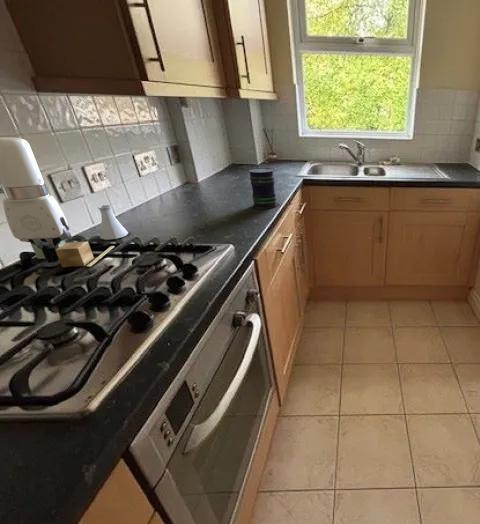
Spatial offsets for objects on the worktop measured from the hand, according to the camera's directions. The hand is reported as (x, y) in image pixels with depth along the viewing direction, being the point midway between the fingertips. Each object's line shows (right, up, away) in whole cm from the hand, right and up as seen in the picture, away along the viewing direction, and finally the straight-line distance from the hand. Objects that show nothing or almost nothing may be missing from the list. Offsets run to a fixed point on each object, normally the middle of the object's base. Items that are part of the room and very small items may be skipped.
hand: (55, 260), depth 88 cm
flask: (+1, +8, +19) cm, 21 cm away
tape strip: (+8, +1, +5) cm, 10 cm away
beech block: (+5, -1, +2) cm, 5 cm away
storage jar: (+39, +24, +55) cm, 72 cm away
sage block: (-6, +2, +6) cm, 8 cm away
